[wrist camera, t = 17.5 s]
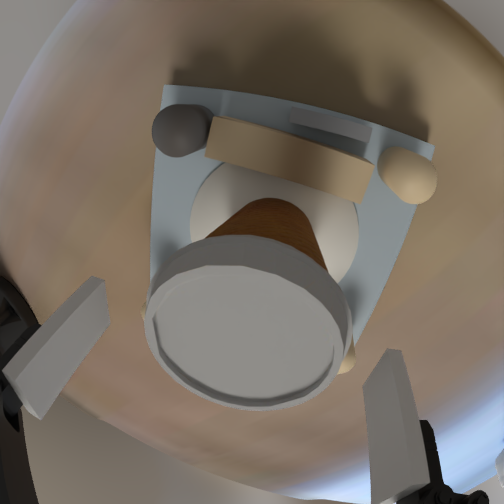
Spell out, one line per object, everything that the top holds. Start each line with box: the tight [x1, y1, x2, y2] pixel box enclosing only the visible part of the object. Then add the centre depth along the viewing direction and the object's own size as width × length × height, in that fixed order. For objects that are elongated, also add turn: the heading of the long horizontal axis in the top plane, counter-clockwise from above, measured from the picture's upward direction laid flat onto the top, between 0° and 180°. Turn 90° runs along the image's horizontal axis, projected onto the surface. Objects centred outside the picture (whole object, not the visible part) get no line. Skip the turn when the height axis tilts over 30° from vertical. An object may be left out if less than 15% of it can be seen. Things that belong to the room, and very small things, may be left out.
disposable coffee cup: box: [144, 198, 353, 411], centre depth 17 cm, size 10×10×12 cm
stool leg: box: [152, 104, 375, 205], centre depth 18 cm, size 14×3×3 cm, turn 75°
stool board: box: [141, 85, 437, 374], centre depth 22 cm, size 20×20×6 cm
